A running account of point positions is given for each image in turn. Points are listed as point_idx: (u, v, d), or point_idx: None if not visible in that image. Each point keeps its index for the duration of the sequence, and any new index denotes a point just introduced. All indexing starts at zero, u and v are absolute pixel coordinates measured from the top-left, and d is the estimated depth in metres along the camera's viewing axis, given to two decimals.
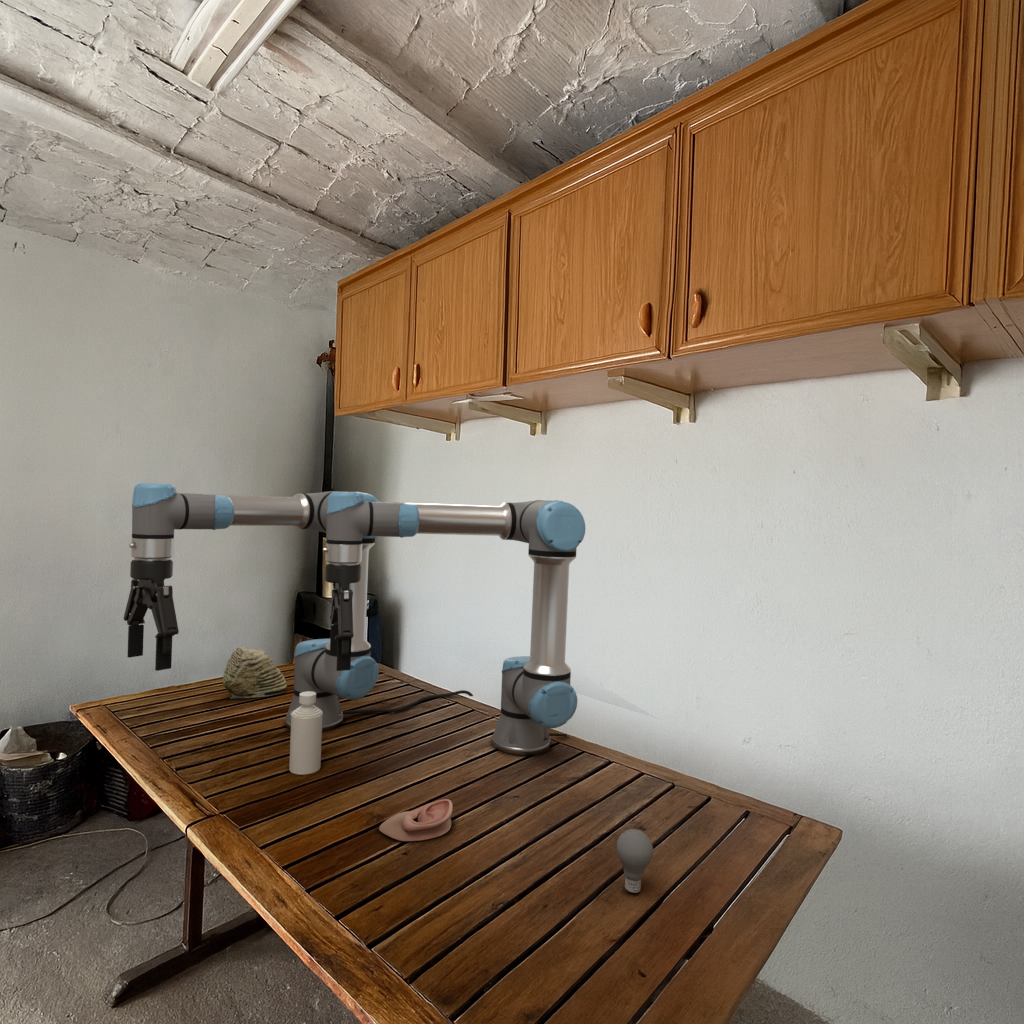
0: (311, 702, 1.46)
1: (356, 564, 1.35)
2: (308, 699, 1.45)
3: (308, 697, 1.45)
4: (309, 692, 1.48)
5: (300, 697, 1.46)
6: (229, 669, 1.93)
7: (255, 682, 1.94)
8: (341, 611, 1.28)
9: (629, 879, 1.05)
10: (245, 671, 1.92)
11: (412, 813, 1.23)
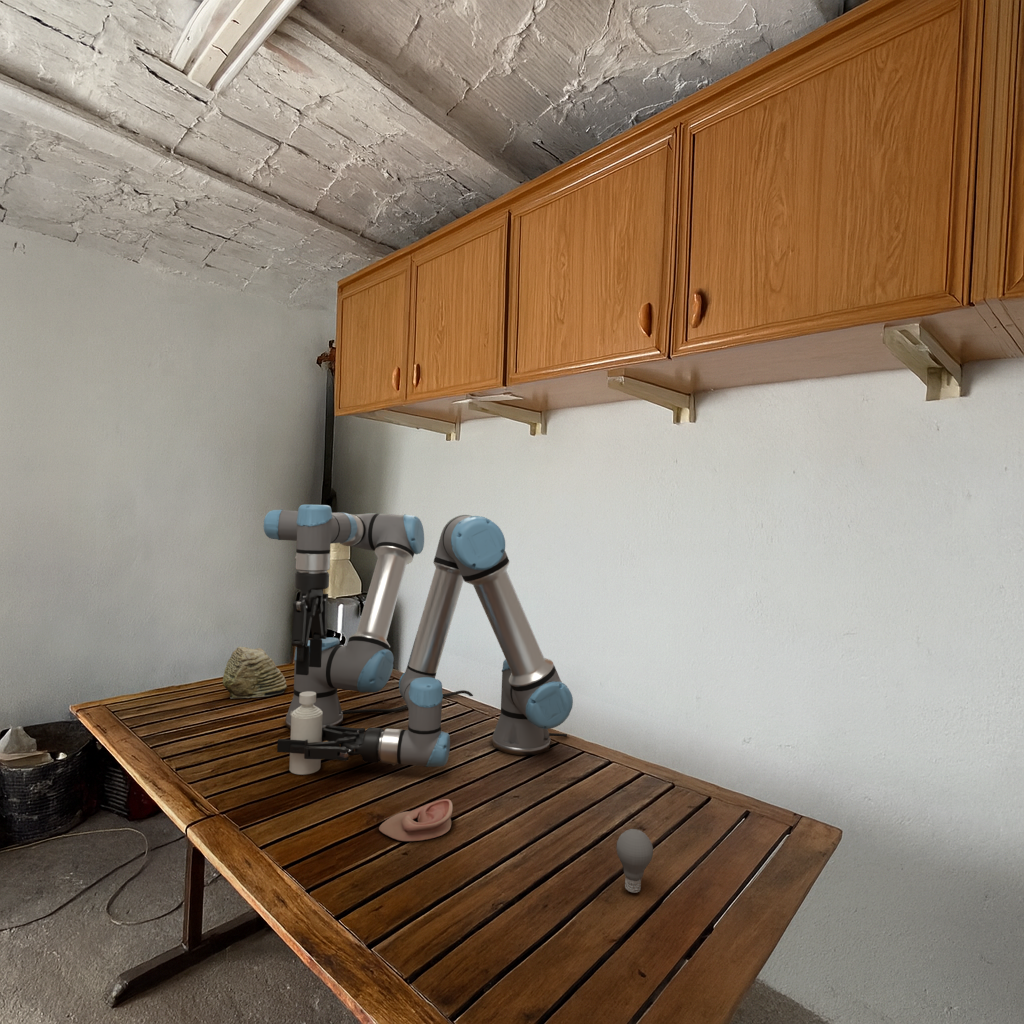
0: (311, 702, 1.46)
1: None
2: (308, 699, 1.45)
3: (308, 697, 1.45)
4: (309, 692, 1.48)
5: (300, 697, 1.46)
6: (229, 669, 1.93)
7: (255, 682, 1.94)
8: None
9: (629, 879, 1.05)
10: (245, 671, 1.92)
11: (412, 813, 1.23)
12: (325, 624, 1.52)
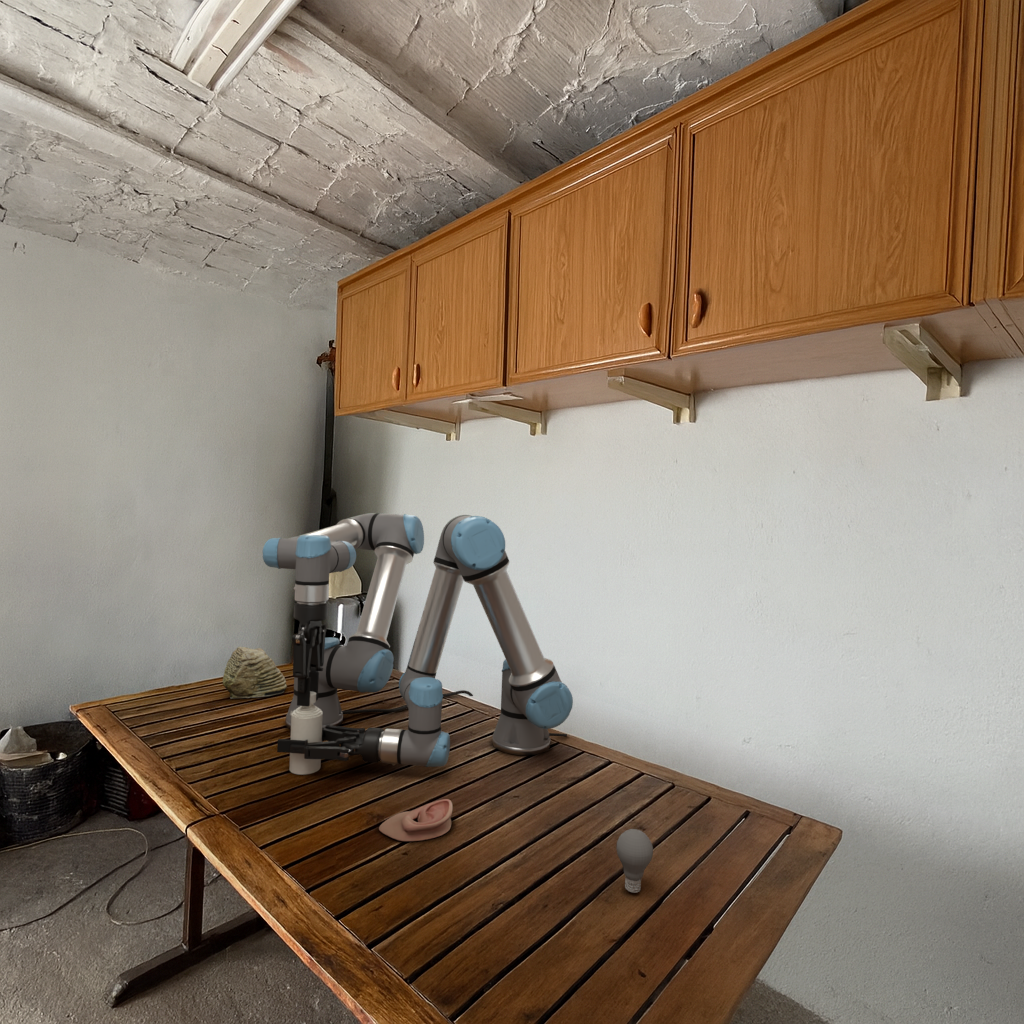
0: (311, 702, 1.46)
1: None
2: None
3: None
4: None
5: None
6: (229, 669, 1.93)
7: (255, 682, 1.94)
8: None
9: (629, 879, 1.05)
10: (245, 671, 1.92)
11: (412, 813, 1.23)
12: (322, 656, 1.51)
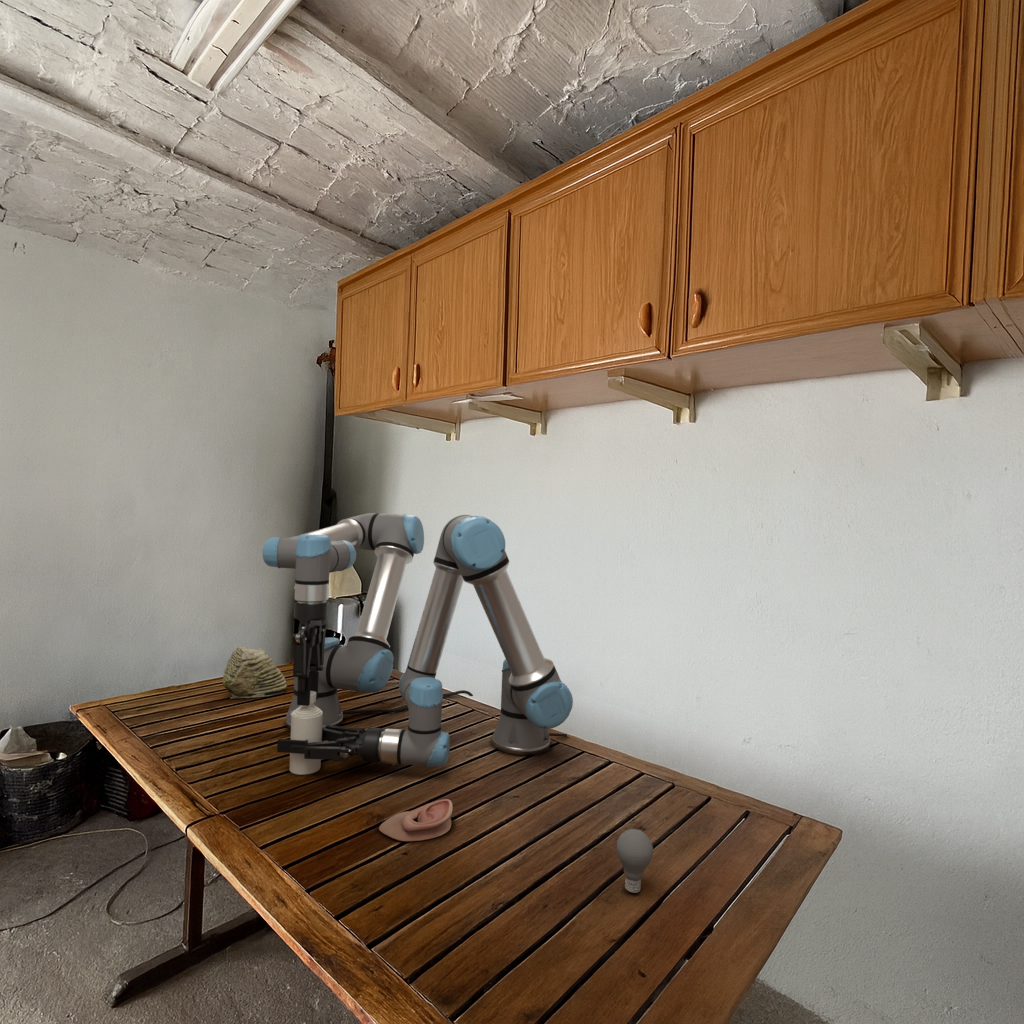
0: None
1: None
2: None
3: None
4: None
5: (314, 696, 1.46)
6: (229, 669, 1.93)
7: (255, 682, 1.94)
8: None
9: (629, 879, 1.05)
10: (245, 671, 1.92)
11: (412, 813, 1.23)
12: (322, 655, 1.51)
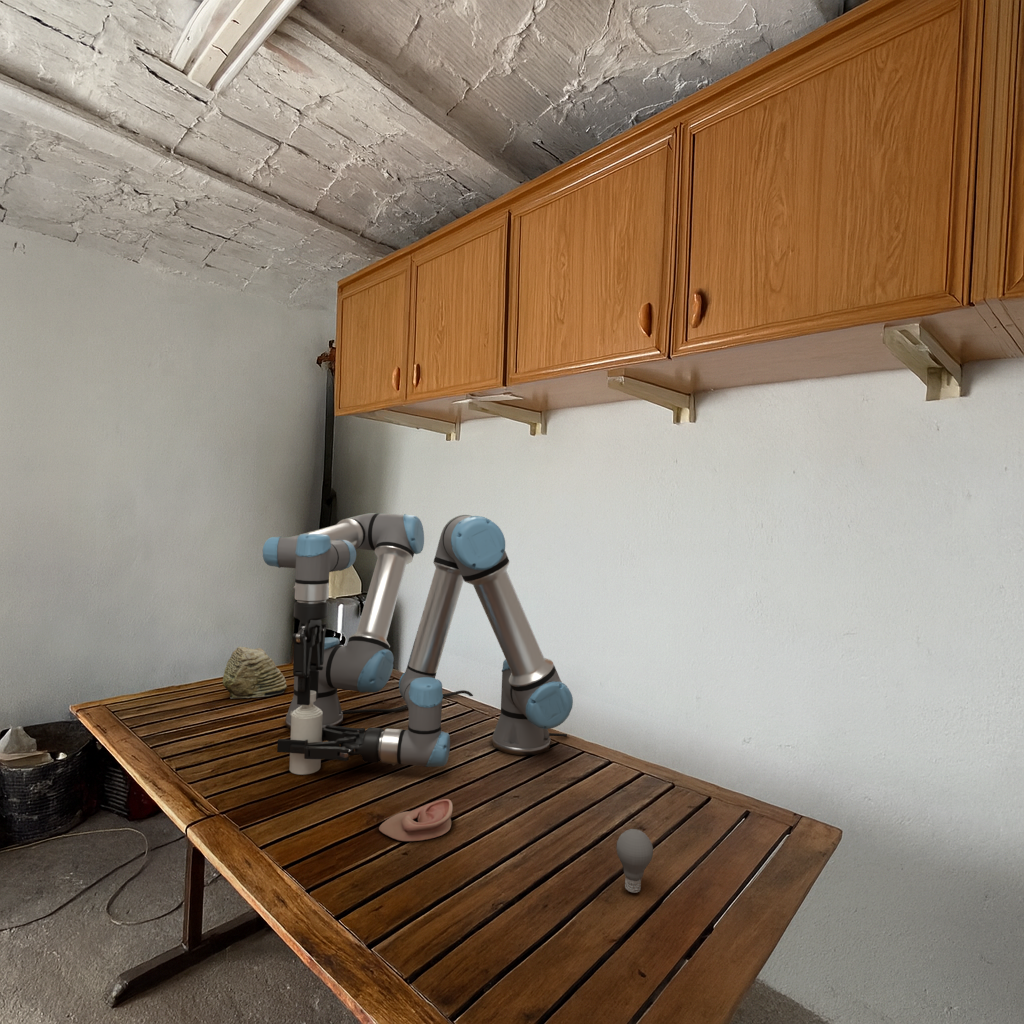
0: None
1: None
2: None
3: None
4: None
5: None
6: (229, 669, 1.93)
7: (255, 682, 1.94)
8: None
9: (629, 879, 1.05)
10: (245, 671, 1.92)
11: (412, 813, 1.23)
12: (322, 655, 1.51)
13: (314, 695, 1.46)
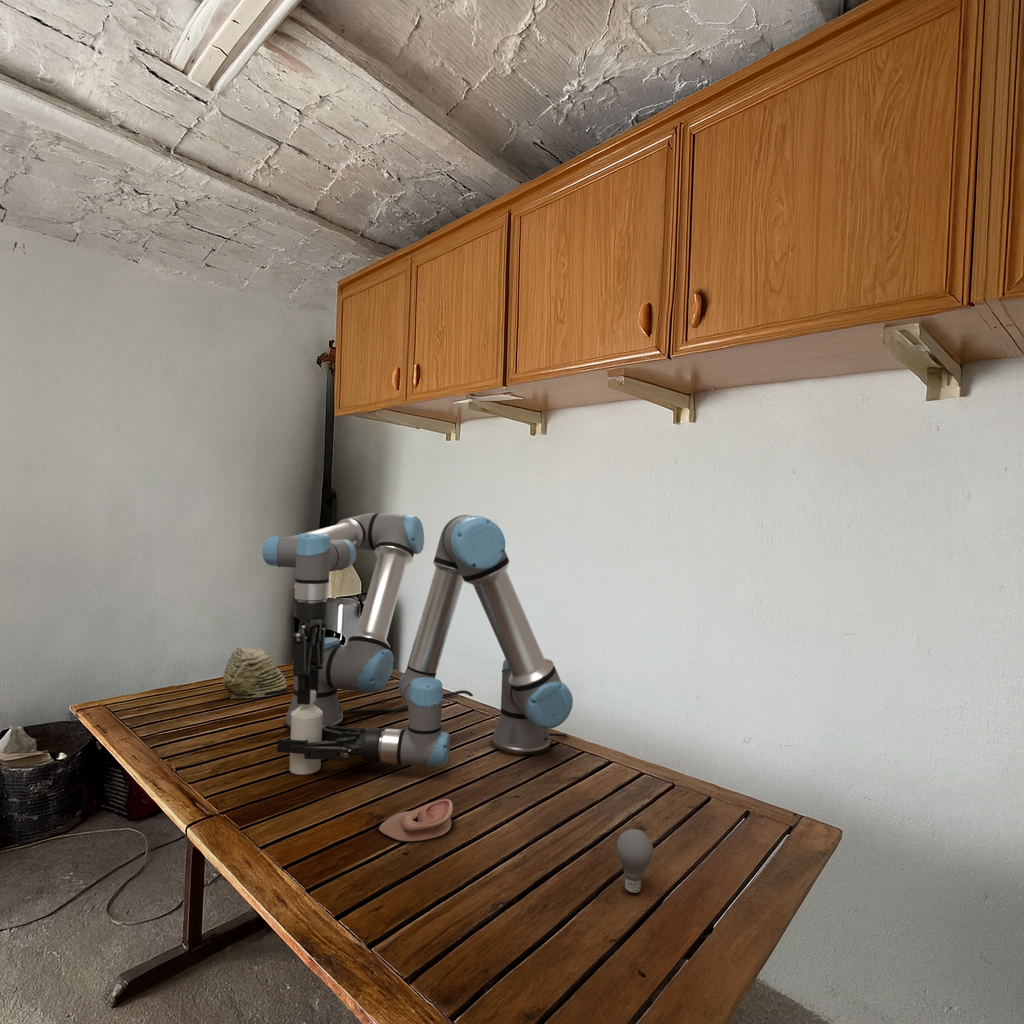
0: None
1: None
2: None
3: None
4: (310, 690, 1.48)
5: None
6: (229, 669, 1.93)
7: (255, 682, 1.94)
8: None
9: (629, 879, 1.05)
10: (245, 671, 1.92)
11: (412, 813, 1.23)
12: (322, 654, 1.51)
13: None
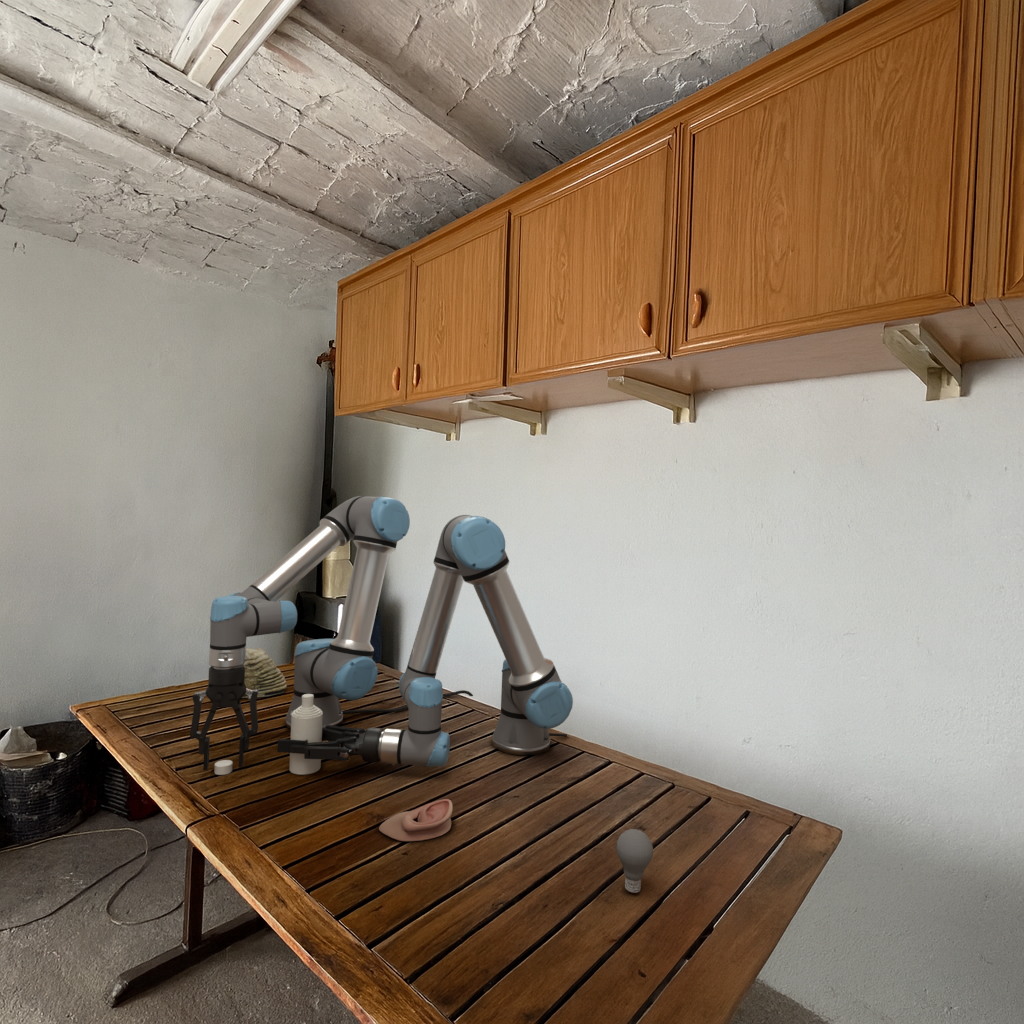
0: None
1: None
2: None
3: (232, 763, 1.45)
4: (219, 763, 1.44)
5: (227, 767, 1.43)
6: None
7: (255, 682, 1.94)
8: None
9: (629, 879, 1.05)
10: (245, 671, 1.92)
11: (412, 813, 1.23)
12: None
13: None
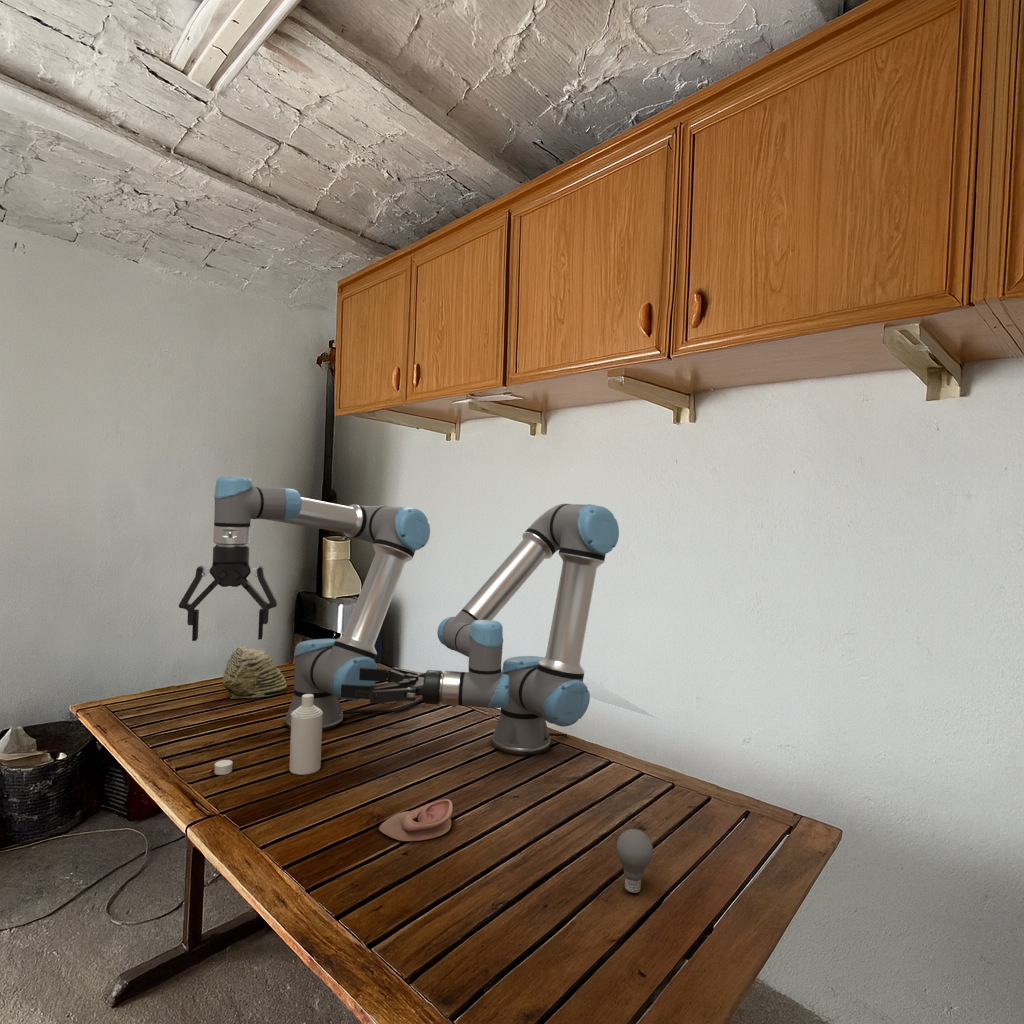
0: None
1: None
2: None
3: (232, 763, 1.45)
4: (219, 763, 1.44)
5: (227, 767, 1.43)
6: (229, 669, 1.93)
7: (255, 682, 1.94)
8: None
9: (629, 879, 1.05)
10: (245, 671, 1.92)
11: (412, 813, 1.23)
12: None
13: None
